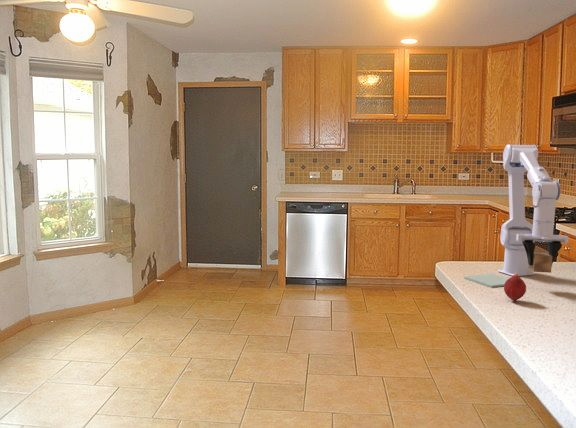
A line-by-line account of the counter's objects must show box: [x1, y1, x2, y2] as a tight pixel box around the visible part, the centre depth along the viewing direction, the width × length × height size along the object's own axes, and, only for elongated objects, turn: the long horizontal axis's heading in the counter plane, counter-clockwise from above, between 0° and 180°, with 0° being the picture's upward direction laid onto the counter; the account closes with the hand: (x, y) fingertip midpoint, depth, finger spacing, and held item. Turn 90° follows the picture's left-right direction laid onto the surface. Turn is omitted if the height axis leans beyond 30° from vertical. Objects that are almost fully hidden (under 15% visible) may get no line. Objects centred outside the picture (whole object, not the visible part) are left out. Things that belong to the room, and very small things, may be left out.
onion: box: [503, 273, 527, 302], centre depth 152 cm, size 6×6×8 cm
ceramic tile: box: [463, 273, 509, 288], centre depth 174 cm, size 12×12×1 cm
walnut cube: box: [528, 251, 553, 274], centre depth 164 cm, size 5×5×5 cm
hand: (539, 265), depth 165 cm, fingers closed on walnut cube, 5 cm apart
